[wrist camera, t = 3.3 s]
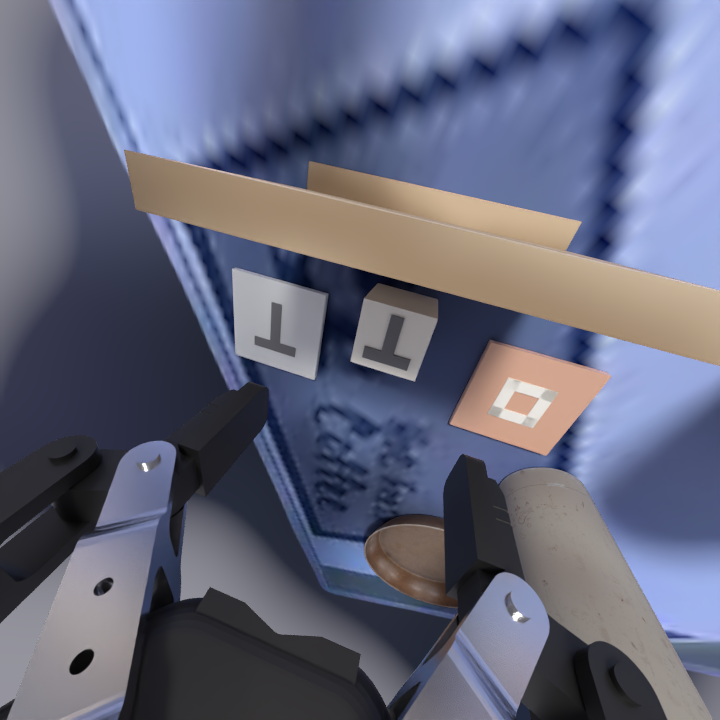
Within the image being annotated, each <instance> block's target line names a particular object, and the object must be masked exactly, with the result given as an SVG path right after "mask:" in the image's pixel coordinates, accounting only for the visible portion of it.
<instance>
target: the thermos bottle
mask: <svg viewBox="0 0 720 720" xmlns="http://www.w3.org/2000/svg"><path fill="white" fill-rule="evenodd" d="M499 487H500V489H501V491H502V492H503V494H504V496H505V500H506V504H507V509H508V511H507V513H509V517H510V521H511V523H510V525H511V526H512V529H513V533H514V537H515V542H516V546H517V550H518V554H519V558H520V562H521V566H522V570H523V574H524V578H525V581H526V583H527V584H528V585H529V586H530V587H531V588H532V589H533V590H534V591H535V592H536V594H537V595H538V597H539V598H540V600H541V601H542V603H543V605H544V607H545V610H546V612H547V614H548V615H549V616H551V617H552V618H553V619H554V620H555V621H557V622H558V623H559V624H561V625H562V626H563V627H565V628H566V629H567V630H569V631H570V632H571V633H573V634H574V635H575V636H577V637H578V638H580V639H581V640H582V641H584V642H585V643H586V644H588V645H589V644H591V643H593V642H595V641H604V642H607V643H610V644H611V645H613V646H615V647H616V648H618V649H619V650H621V651H622V652H623V653H624V654H626V655H627V656H628V657H629V658H630V659H631V660H632V661H633V662H634V663H635V664H636V666H637V667H638V668H639V669H640V670H641V672H642V673H643V674H644V675H645V677H646V678H647V680H648V681H649V683H650V684H651V686H652V688H653V689H654V691H655V693H656V695H657V697H658V699H659V701H660V703H661V706H662V708H663V710H664V713H665V715H666V717H667V720H713V719H712V717H711V715H710V713H709V711H708V710H707V708H706V706H705V704H704V702H703V700H702V699H701V697H700V695H699V693H698V691H697V690H696V688H695V686H694V684H693V682H692V680H691V679H690V677H689V675H688V673H687V671H686V670H685V668H684V666H683V664H682V662H681V660H680V659H679V657H678V655H677V653H676V651H675V650H674V648H673V646H672V644H671V642H670V640H669V639H668V637H667V635H666V633H665V631H664V630H663V628H662V626H661V624H660V622H659V620H658V619H657V617H656V615H655V613H654V611H653V610H652V608H651V606H650V604H649V602H648V600H647V599H646V597H645V595H644V593H643V591H642V590H641V588H640V586H639V584H638V582H637V580H636V579H635V577H634V575H633V573H632V571H631V570H630V568H629V566H628V564H627V562H626V560H625V559H624V557H623V555H622V553H621V551H620V550H619V548H618V546H617V544H616V542H615V540H614V539H613V537H612V535H611V533H610V531H609V530H608V528H607V526H606V524H605V522H604V520H603V519H602V517H601V515H600V513H599V511H598V510H597V508H596V506H595V504H594V502H593V500H592V499H591V497H590V495H589V493H588V491H587V490H586V488H585V486H584V485H583V484H582V482H581V481H579V480H578V479H577V478H576V477H574V476H573V475H571V474H569V473H567V472H564V471H561V470H558V469H553V468H545V467H533V468H527V469H522V470H519V471H516V472H514V473H512V474H510V475H508V476H507V477H506V478H504V479H503V481H502V482H501V483H500V485H499Z"/></svg>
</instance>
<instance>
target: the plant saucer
mask: <svg viewBox="0 0 720 720" xmlns="http://www.w3.org/2000/svg"><path fill="white" fill-rule="evenodd" d="M364 554H365V558H366V560H367V562H368V564H369V566H370V567H371V569H372V570H373V571H374V572H375V573H376V574H377V575H378V576H379V577H380V578H381V579H382V580H383V581H384V582H386V583H387V584H389V585H390V586H391V587H393V588H395V589H396V590H398V591H400V592H402V593H404V594H406V595H408V596H410V597H413V598H415V599H418V600H421V601H424V602H427V603H430V604H434V605H438V606H443V607H450V608H458V600H457V599H454V598H452V597H449V596H447V595H446V591H445V547H444V519H443V518H440V517H436V516H430V515H421V514H413V515H404V516H400V517H396V518H394V519H391V520H389V521H388V522H386V523H384V524H383V525H382V526H380V527H379V528H378V529H376V530H375V531H374V532H373V533H372V534H371V535H370V536H369V537H368V539H367V540H366V543H365V546H364Z"/></svg>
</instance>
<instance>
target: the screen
mask: <svg viewBox="0 0 720 720" xmlns="http://www.w3.org/2000/svg"><path fill="white" fill-rule="evenodd" d="M124 152H125V157H126V162H127V167H128V172H129V177H130V182H131V188H132V193H133V197H134V203H135V208H136V210H140V211H144V212H147V213H151V214H155V215H159V216H162V217H166V218H170V219H174V220H177V221H181V222H185V223H188V224H192V225H196V226H200V227H203V228H207V229H211V230H215V231H218V232H222V233H226V234H229V235H233V236H237V237H241V238H244V239H248V240H252V241H256V242H259V243H263V244H267V245H270V246H274V247H278V248H282V249H285V250H289V251H293V252H297V253H300V254H304V255H308V256H311V257H315V258H319V259H323V260H326V261H330V262H334V263H338V264H341V265H345V266H349V267H352V268H356V269H360V270H364V271H367V272H371V273H375V274H379V275H382V276H386V277H390V278H394V279H397V280H401V281H405V282H408V283H412V284H416V285H420V286H423V287H427V288H431V289H435V290H438V291H442V292H446V293H449V294H453V295H457V296H461V297H464V298H468V299H472V300H476V301H479V302H483V303H487V304H490V305H494V306H498V307H502V308H505V309H509V310H513V311H517V312H520V313H524V314H528V315H531V316H535V317H539V318H543V319H546V320H550V321H554V322H558V323H561V324H565V325H569V326H572V327H576V328H580V329H584V330H587V331H591V332H595V333H599V334H602V335H606V336H610V337H614V338H617V339H621V340H625V341H628V342H632V343H636V344H640V345H643V346H647V347H651V348H655V349H658V350H662V351H666V352H669V353H673V354H677V355H681V356H684V357H688V358H692V359H696V360H699V361H703V362H707V363H710V364H714V365H718V366H720V290H716V289H712V288H708V287H704V286H700V285H696V284H693V283H689V282H685V281H681V280H677V279H673V278H669V277H665V276H661V275H658V274H654V273H650V272H646V271H642V270H638V269H634V268H630V267H626V266H622V265H619V264H615V263H611V262H607V261H603V260H599V259H595V258H591V257H587V256H583V255H580V254H576V253H572V252H568V251H566V249H567V248H568V246H569V244H570V242H571V240H572V239H573V237H574V235H575V233H576V231H577V230H578V228H579V226H580V224H581V222H580V221H576V220H571V219H567V218H562V217H558V216H553V215H549V214H544V213H540V212H535V211H531V210H527V209H522V208H518V207H513V206H509V205H504V204H500V203H495V202H491V201H486V200H482V199H477V198H473V197H468V196H464V195H459V194H455V193H451V192H446V191H442V190H437V189H433V188H428V187H424V186H419V185H415V184H410V183H406V182H401V181H397V180H392V179H388V178H383V177H379V176H374V175H370V174H366V173H361V172H357V171H352V170H348V169H343V168H339V167H334V166H330V165H325V164H321V163H316V162H312V161H309V168H308V180H307V189H302V188H298V187H293V186H288V185H284V184H279V183H275V182H270V181H266V180H261V179H256V178H252V177H247V176H243V175H238V174H233V173H229V172H224V171H220V170H215V169H211V168H206V167H201V166H197V165H192V164H188V163H183V162H178V161H174V160H169V159H165V158H160V157H156V156H151V155H146V154H142V153H137V152H133V151H128V150H124Z"/></svg>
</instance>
